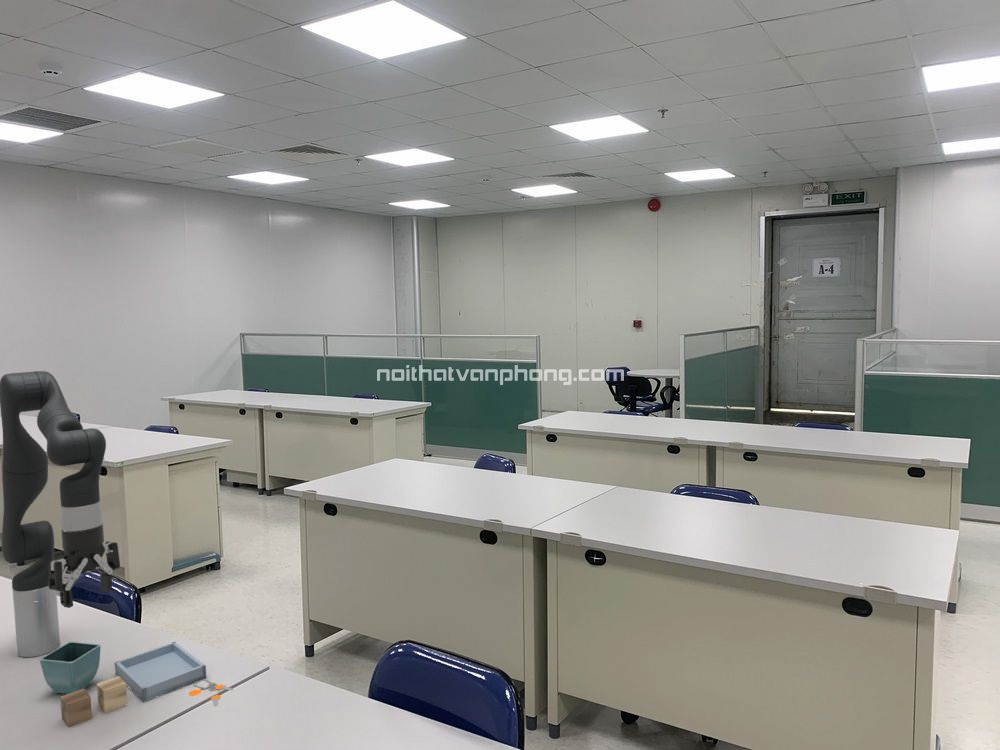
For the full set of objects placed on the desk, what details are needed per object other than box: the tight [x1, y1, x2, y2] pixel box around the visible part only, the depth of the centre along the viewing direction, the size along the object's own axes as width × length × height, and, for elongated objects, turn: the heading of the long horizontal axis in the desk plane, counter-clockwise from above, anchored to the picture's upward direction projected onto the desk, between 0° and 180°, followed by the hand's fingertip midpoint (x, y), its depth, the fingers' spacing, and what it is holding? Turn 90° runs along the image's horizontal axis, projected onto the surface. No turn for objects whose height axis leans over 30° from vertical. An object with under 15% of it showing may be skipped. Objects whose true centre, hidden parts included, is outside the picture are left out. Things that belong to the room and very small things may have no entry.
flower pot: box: [39, 641, 102, 695], centre depth 160 cm, size 9×9×9 cm
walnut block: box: [59, 688, 93, 728], centre depth 148 cm, size 4×4×5 cm
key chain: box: [188, 678, 234, 707], centre depth 158 cm, size 13×7×1 cm, turn 57°
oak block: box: [96, 676, 128, 714], centre depth 153 cm, size 4×4×5 cm
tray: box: [114, 641, 207, 703], centre depth 165 cm, size 18×14×3 cm
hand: (87, 598), depth 147 cm, fingers open, 8 cm apart
